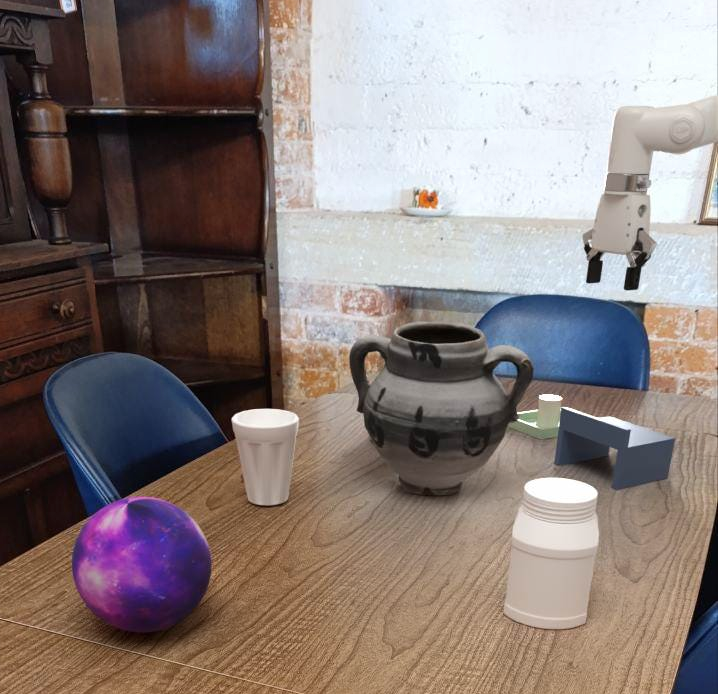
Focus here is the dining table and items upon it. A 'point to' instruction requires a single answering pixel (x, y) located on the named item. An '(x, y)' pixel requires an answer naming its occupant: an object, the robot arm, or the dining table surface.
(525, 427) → the tray
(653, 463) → the stand
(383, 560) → the dining table surface
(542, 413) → the canister
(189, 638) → the dining table surface
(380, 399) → the ceramic pot
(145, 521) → the decorative orb
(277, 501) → the cup
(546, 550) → the jar
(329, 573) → the dining table surface
